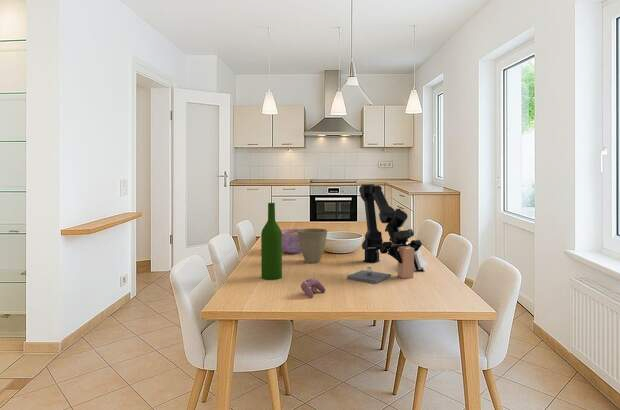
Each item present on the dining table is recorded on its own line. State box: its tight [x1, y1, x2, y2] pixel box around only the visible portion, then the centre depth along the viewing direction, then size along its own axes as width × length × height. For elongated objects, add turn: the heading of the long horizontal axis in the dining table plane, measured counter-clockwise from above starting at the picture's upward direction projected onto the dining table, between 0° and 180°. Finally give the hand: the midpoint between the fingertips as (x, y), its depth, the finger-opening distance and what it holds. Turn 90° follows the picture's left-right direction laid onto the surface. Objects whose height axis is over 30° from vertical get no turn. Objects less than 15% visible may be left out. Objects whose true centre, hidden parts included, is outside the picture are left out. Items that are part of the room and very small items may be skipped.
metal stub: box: [366, 266, 372, 276], centre depth 208 cm, size 2×2×3 cm
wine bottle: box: [260, 202, 283, 281], centre depth 207 cm, size 9×9×32 cm
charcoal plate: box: [346, 269, 392, 284], centre depth 208 cm, size 14×14×1 cm
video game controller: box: [300, 278, 326, 299], centre depth 183 cm, size 10×5×7 cm, turn 146°
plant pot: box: [298, 227, 328, 264], centre depth 240 cm, size 15×15×16 cm
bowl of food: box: [281, 228, 302, 255], centre depth 265 cm, size 20×20×12 cm
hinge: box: [413, 248, 429, 272], centre depth 229 cm, size 17×5×10 cm, turn 161°
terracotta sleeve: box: [396, 246, 414, 279], centre depth 210 cm, size 5×5×13 cm
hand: (407, 262), depth 209 cm, fingers closed on terracotta sleeve, 5 cm apart
